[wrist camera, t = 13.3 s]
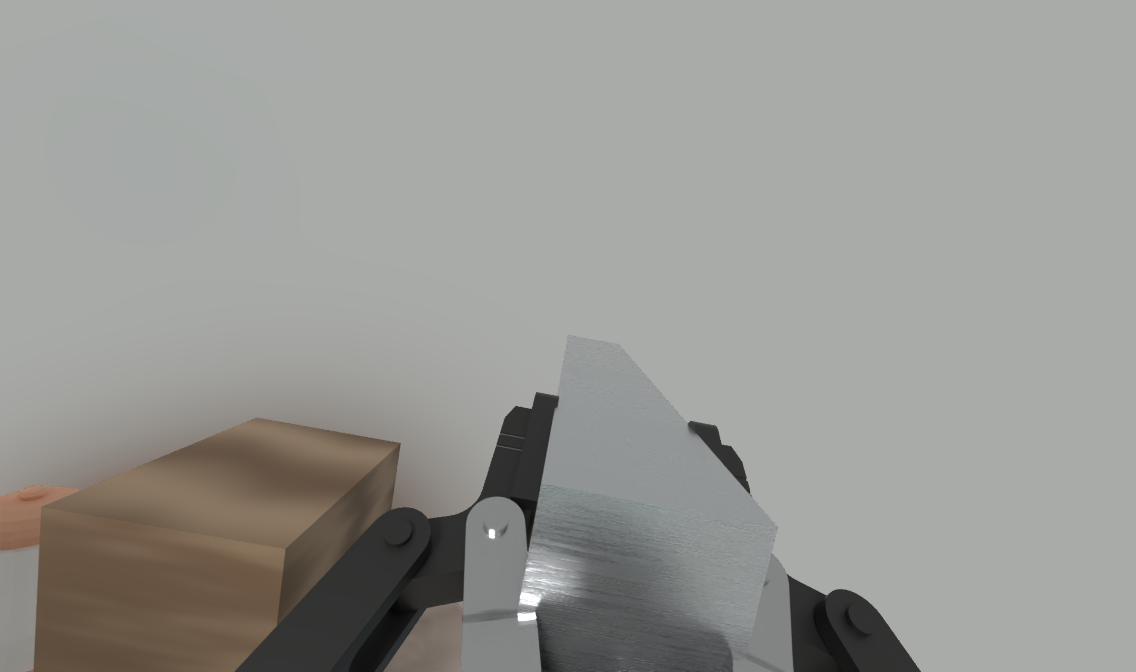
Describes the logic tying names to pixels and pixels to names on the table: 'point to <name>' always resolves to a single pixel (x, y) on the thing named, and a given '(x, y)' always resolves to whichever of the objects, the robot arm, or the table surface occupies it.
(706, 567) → the steel bar
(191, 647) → the tall stand
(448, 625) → the table surface
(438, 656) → the table surface
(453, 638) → the table surface
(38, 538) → the pepper shaker
